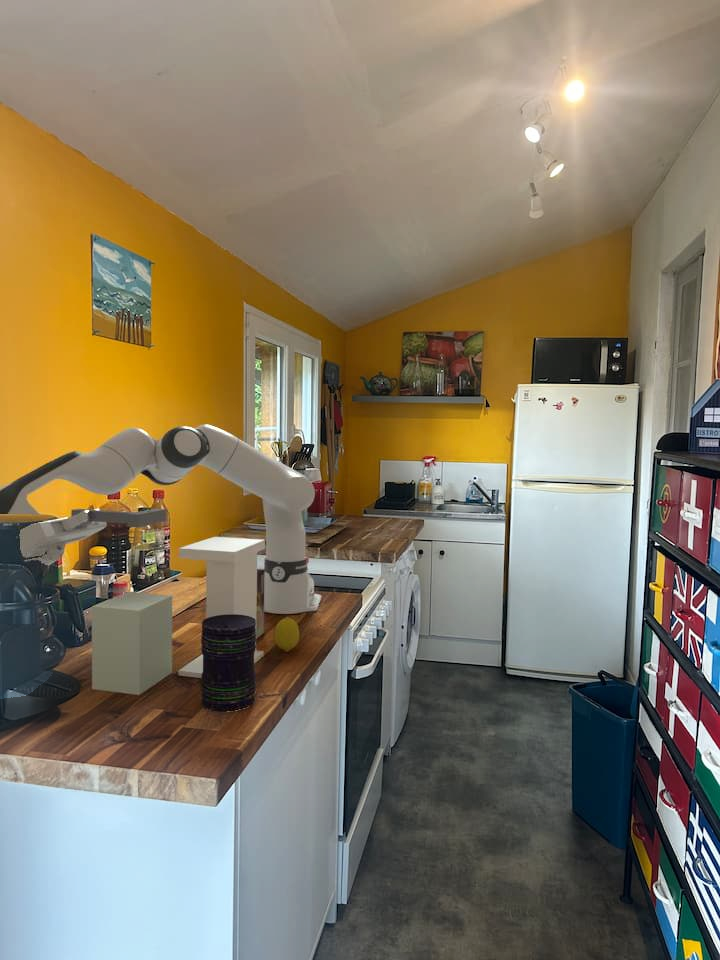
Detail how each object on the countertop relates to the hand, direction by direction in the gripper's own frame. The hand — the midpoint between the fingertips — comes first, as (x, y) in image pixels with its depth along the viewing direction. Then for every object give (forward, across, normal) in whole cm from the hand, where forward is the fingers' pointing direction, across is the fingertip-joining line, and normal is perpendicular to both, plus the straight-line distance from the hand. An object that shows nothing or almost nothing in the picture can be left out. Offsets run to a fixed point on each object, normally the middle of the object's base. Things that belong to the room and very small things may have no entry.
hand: (93, 513), depth 127 cm
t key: (+3, 0, -3) cm, 5 cm away
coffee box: (0, -32, -38) cm, 50 cm away
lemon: (+11, -25, -44) cm, 52 cm away
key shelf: (+2, -13, -39) cm, 41 cm away
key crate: (-9, 0, -33) cm, 34 cm away
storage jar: (+10, +4, -44) cm, 45 cm away
